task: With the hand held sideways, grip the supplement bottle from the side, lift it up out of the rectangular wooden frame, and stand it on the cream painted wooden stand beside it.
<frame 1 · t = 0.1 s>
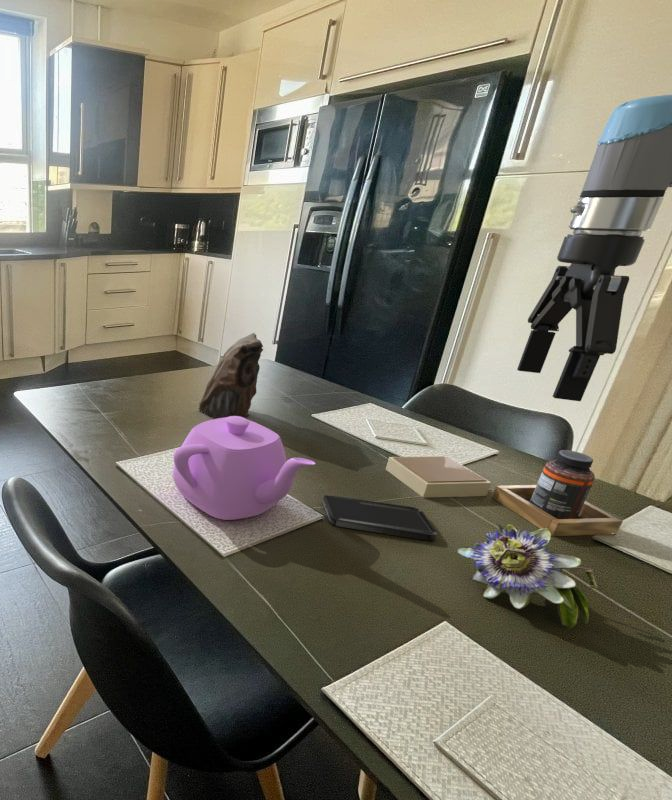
hand: (545, 384, 72), 24 cm above the table, tool pointing down, fingers open, 13 cm apart
rectangular wooden frame: (550, 514, 82), on the table
owl: (225, 415, 120), on the table
stand: (433, 482, 91), on the table
passion flower: (514, 595, 64), on the table
teapot: (228, 500, 85), on the table
phone: (375, 520, 80), on the table
supplement bottle: (549, 515, 82), resting in rectangular wooden frame
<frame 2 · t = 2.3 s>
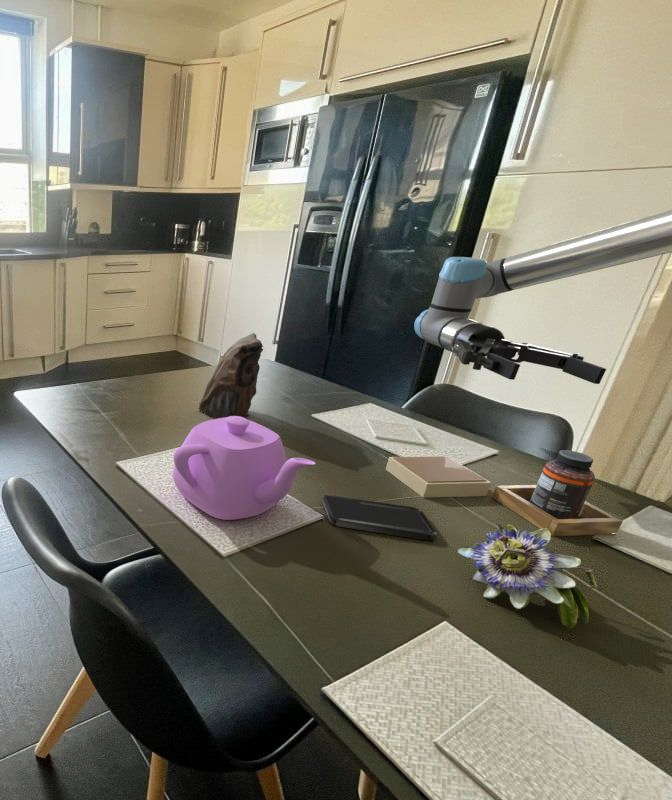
hand: (557, 374, 82), 22 cm above the table, tool horizontal, fingers open, 13 cm apart
nothing on the table moved.
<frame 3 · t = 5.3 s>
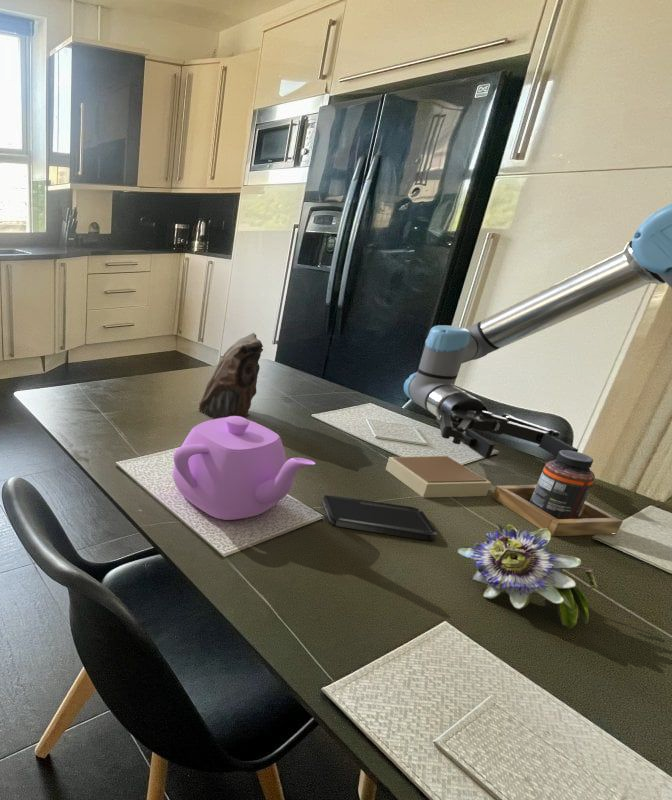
hand: (531, 454, 86), 8 cm above the table, tool horizontal, fingers open, 13 cm apart
nothing on the table moved.
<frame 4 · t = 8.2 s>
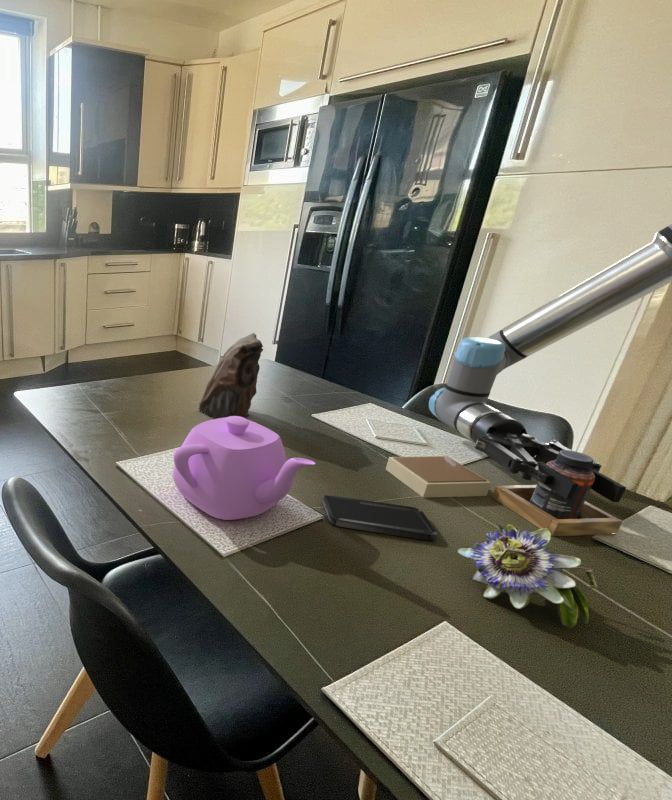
hand: (595, 493, 74), 8 cm above the table, tool horizontal, fingers closed on supplement bottle, 6 cm apart
supplement bottle: (549, 515, 82), resting in rectangular wooden frame, touching gripper
everything else where it was.
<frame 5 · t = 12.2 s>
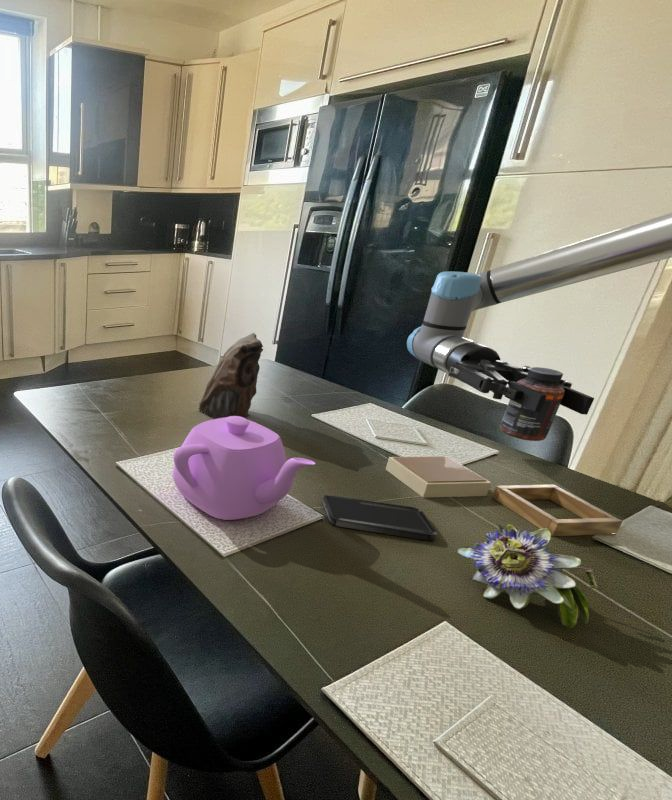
hand: (564, 404, 74), 20 cm above the table, tool horizontal, fingers closed on supplement bottle, 6 cm apart
supplement bottle: (520, 435, 81), point 13 cm above the table, touching gripper
everything else where it was.
when the fingers open (10 cm above the table, at t = 16.4 s): supplement bottle stays where it is, resting on stand.
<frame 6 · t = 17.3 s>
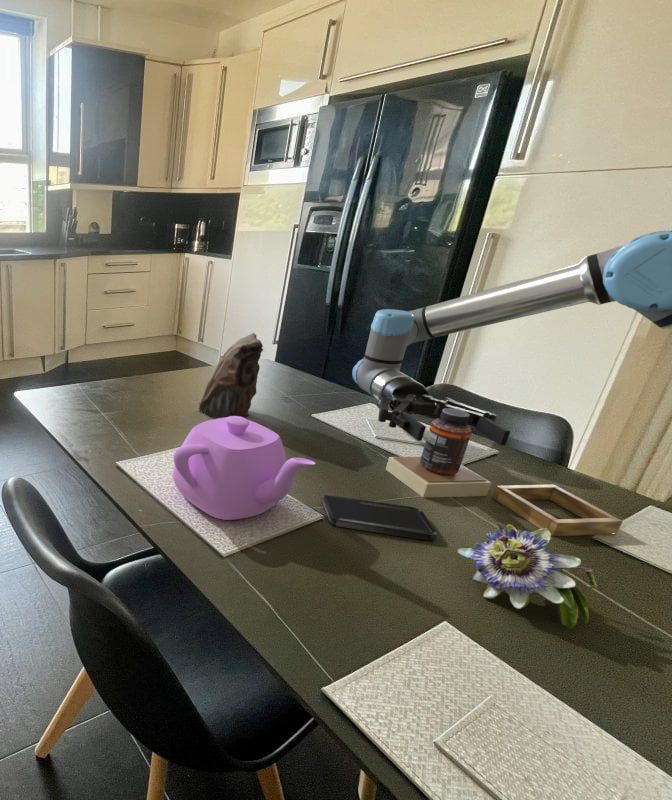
hand: (463, 436, 84), 11 cm above the table, tool horizontal, fingers open, 13 cm apart
supplement bottle: (437, 469, 90), point 3 cm above the table, touching stand
everything else where it was.
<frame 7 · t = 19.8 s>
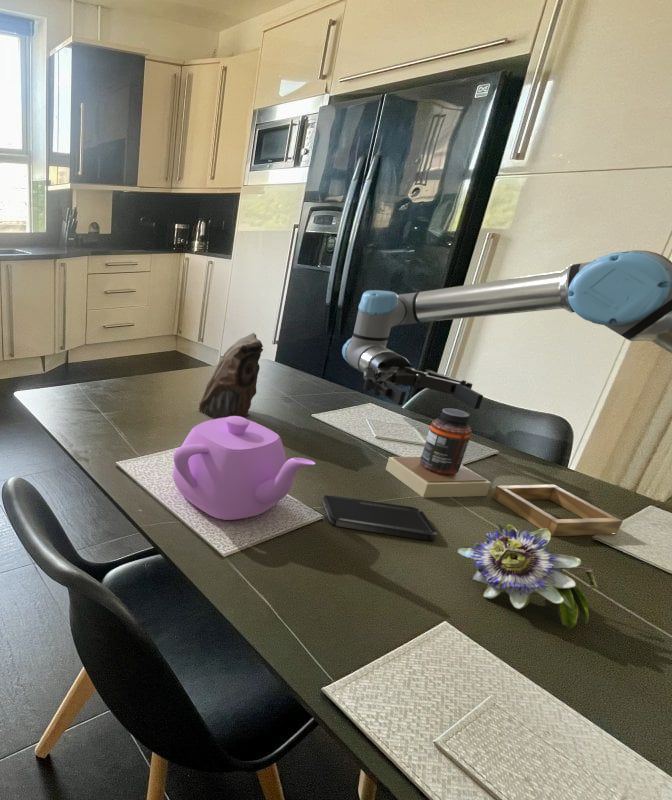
hand: (440, 400, 91), 14 cm above the table, tool horizontal, fingers open, 13 cm apart
nothing on the table moved.
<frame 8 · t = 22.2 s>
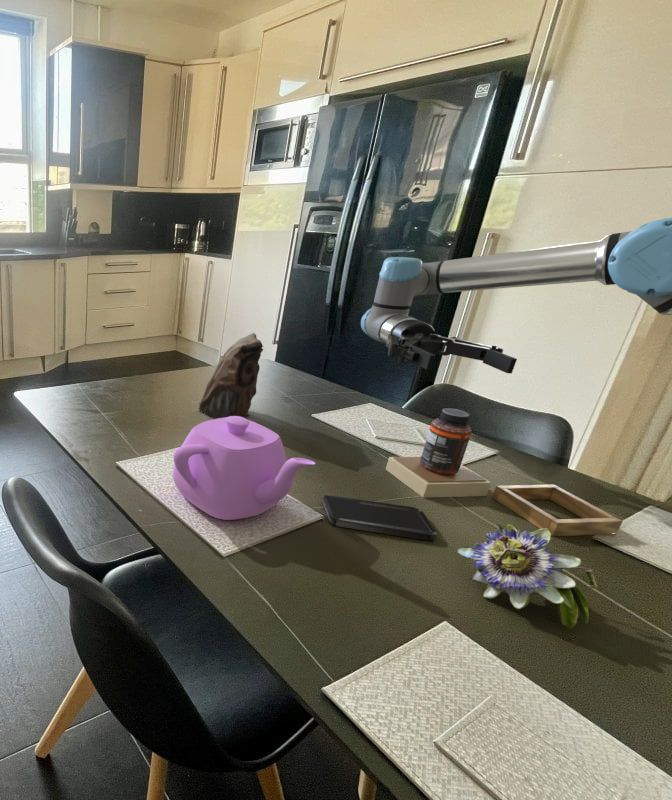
hand: (471, 364, 87), 22 cm above the table, tool horizontal, fingers open, 13 cm apart
nothing on the table moved.
at the end: supplement bottle inside the target area (0.1 cm from its centre), point 2.8 cm above the table; supplement bottle tilted 0°; the gripper is holding nothing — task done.
